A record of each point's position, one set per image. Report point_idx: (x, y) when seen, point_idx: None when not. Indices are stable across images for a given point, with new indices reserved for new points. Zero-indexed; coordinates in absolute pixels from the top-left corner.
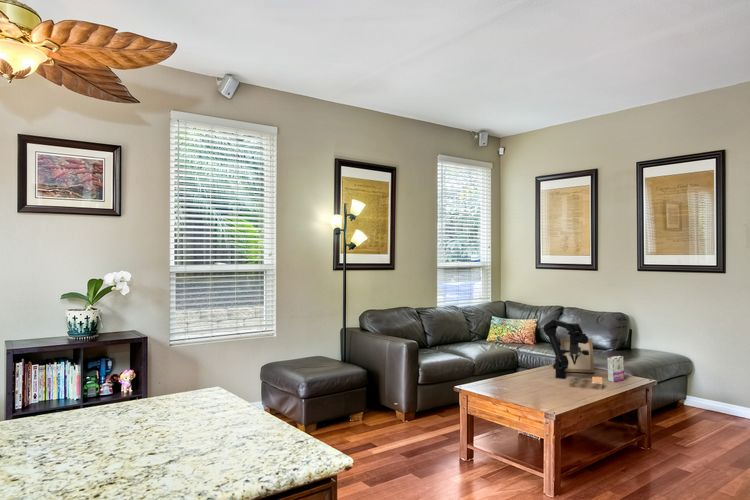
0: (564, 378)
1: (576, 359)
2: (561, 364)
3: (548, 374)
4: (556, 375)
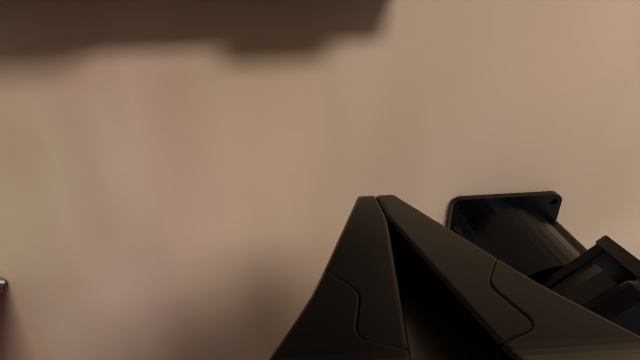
0: (457, 197)
1: (324, 287)
2: (626, 284)
3: None
4: (554, 225)
